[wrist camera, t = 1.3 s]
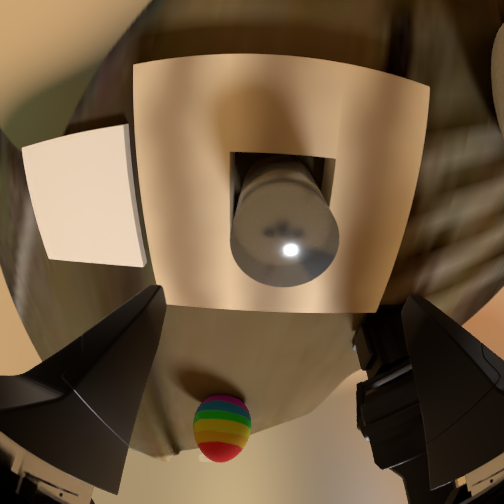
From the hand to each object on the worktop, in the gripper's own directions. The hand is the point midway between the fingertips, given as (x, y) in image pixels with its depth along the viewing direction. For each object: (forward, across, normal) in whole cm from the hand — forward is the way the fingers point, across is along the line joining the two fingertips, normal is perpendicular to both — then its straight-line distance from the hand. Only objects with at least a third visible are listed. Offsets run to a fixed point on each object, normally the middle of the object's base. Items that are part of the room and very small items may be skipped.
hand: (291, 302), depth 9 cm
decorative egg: (+12, +5, +32) cm, 35 cm away
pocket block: (+12, 0, 0) cm, 12 cm away
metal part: (+12, 0, 0) cm, 12 cm away
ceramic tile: (+12, +17, +1) cm, 21 cm away
